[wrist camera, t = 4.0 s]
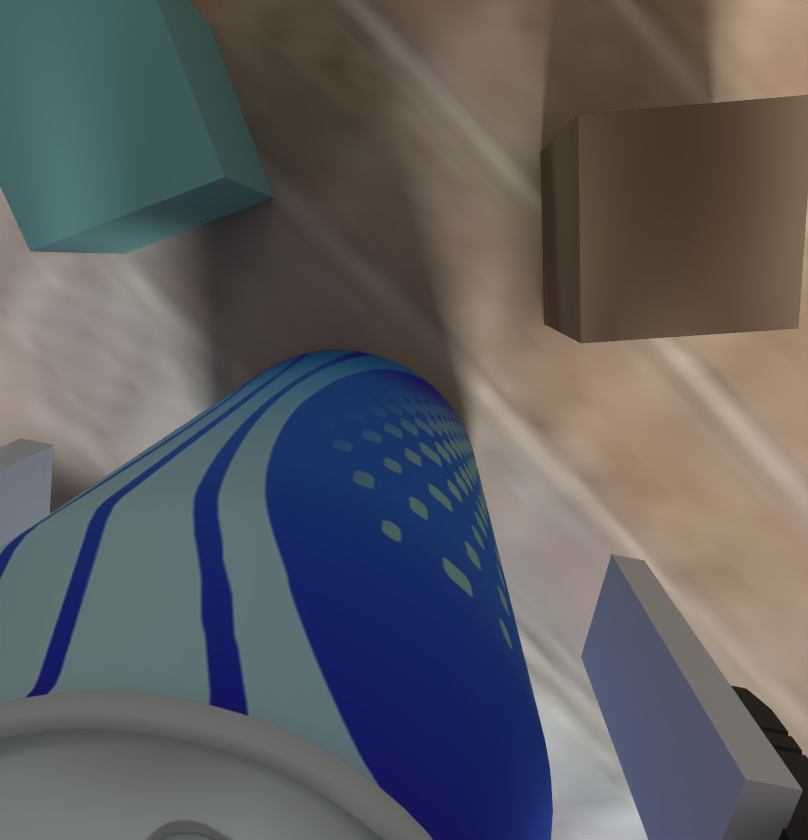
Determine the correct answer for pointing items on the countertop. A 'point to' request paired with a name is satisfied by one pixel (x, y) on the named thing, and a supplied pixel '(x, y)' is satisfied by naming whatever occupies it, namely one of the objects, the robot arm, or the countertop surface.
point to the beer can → (273, 632)
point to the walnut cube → (676, 220)
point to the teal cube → (118, 124)
